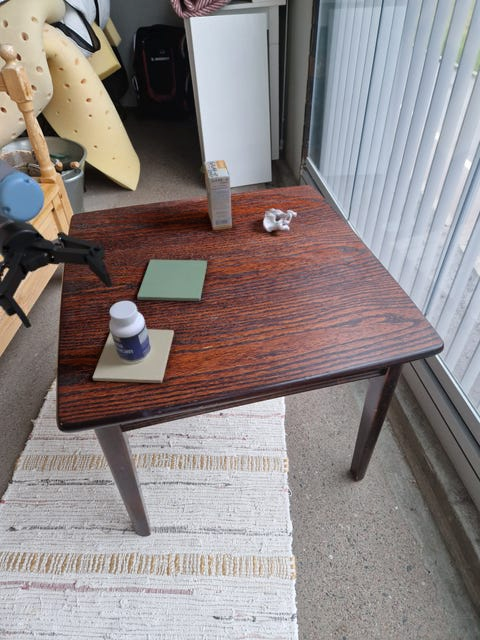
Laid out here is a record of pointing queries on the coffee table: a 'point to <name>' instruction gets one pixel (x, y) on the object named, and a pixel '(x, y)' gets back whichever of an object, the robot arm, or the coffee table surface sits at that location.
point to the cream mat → (143, 371)
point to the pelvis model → (270, 221)
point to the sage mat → (173, 280)
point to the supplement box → (218, 194)
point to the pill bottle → (129, 332)
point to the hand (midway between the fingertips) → (69, 299)
